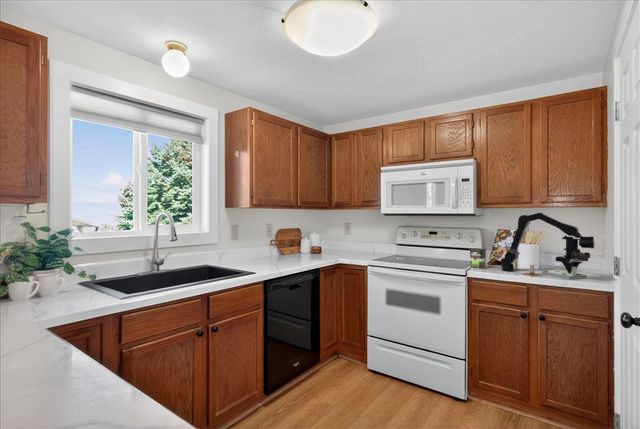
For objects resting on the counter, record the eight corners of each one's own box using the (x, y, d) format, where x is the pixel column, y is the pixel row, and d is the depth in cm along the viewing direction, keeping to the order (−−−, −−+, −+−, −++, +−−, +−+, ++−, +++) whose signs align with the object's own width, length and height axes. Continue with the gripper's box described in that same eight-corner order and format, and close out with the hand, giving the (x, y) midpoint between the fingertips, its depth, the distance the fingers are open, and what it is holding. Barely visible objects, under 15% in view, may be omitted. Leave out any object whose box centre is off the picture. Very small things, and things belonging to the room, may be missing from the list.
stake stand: (517, 275, 210) (517, 264, 210) (531, 274, 213) (531, 263, 213) (533, 278, 199) (533, 266, 199) (547, 277, 202) (547, 266, 202)
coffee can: (482, 270, 227) (482, 250, 227) (467, 268, 235) (467, 248, 235) (488, 268, 234) (488, 249, 234) (473, 266, 242) (473, 247, 242)
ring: (547, 272, 205) (547, 264, 205) (558, 272, 207) (558, 263, 207) (568, 276, 192) (568, 267, 192) (580, 275, 195) (580, 266, 195)
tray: (541, 276, 207) (541, 271, 207) (558, 274, 210) (558, 270, 210) (569, 281, 190) (569, 276, 190) (587, 280, 193) (587, 275, 193)
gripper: (573, 249, 185) (573, 276, 185) (598, 248, 190) (597, 274, 190) (554, 247, 196) (554, 273, 196) (578, 246, 201) (578, 271, 201)
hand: (571, 273), depth 195 cm, fingers closed on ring, 3 cm apart
